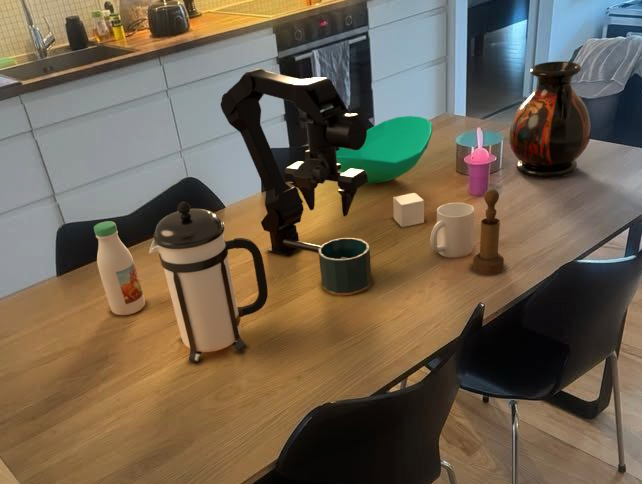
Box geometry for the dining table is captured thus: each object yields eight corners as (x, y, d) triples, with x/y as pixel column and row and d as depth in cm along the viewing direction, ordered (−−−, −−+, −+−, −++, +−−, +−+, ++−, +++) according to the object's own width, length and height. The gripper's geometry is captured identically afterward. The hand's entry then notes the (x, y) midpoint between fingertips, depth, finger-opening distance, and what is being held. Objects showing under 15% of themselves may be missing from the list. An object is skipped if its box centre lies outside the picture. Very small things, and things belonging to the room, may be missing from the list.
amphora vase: (496, 163, 204) (502, 63, 188) (566, 153, 205) (578, 53, 189) (522, 188, 186) (531, 80, 170) (599, 177, 187) (614, 69, 171)
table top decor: (389, 152, 222) (388, 110, 215) (455, 168, 204) (456, 123, 197) (296, 190, 203) (291, 145, 196) (360, 211, 185) (356, 163, 177)
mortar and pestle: (506, 263, 152) (511, 185, 142) (499, 276, 148) (504, 197, 137) (476, 259, 155) (479, 183, 145) (469, 273, 150) (472, 195, 140)
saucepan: (354, 299, 146) (351, 264, 141) (274, 279, 158) (269, 245, 153) (380, 277, 153) (379, 243, 148) (302, 259, 164) (298, 226, 160)
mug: (443, 267, 153) (444, 225, 148) (418, 257, 159) (417, 215, 153) (480, 250, 159) (482, 208, 153) (454, 240, 164) (454, 199, 159)
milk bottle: (116, 320, 150) (89, 236, 138) (108, 305, 155) (82, 224, 144) (149, 309, 152) (126, 225, 141) (140, 295, 158) (117, 214, 146)
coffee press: (224, 373, 128) (192, 225, 111) (161, 354, 136) (122, 213, 119) (275, 328, 140) (253, 187, 122) (215, 313, 147) (187, 178, 130)
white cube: (424, 222, 175) (423, 200, 171) (402, 227, 174) (401, 205, 170) (415, 214, 180) (414, 192, 176) (393, 218, 179) (393, 196, 175)
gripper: (264, 150, 144) (274, 220, 153) (336, 160, 134) (343, 233, 143) (295, 135, 151) (303, 202, 160) (366, 143, 141) (371, 213, 150)
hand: (328, 212), depth 153 cm, fingers open, 9 cm apart
